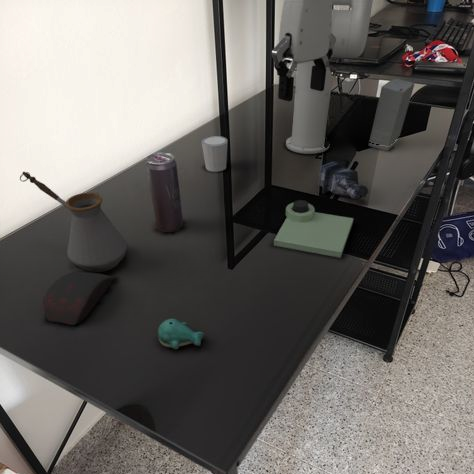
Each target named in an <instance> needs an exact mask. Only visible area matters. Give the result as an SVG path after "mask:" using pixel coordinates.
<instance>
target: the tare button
mask: <svg viewBox="0 0 474 474" xmlns="http://www.w3.org/2000/svg"><path fill="white" fill-rule="evenodd" d="M292 203H293V211H294V212H297V213H305V212H307V211H308V204H309V202H308V201H307V200H304V199H297V200H295V201H294V202H292Z"/></svg>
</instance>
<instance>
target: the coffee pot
mask: <svg viewBox="0 0 474 474" xmlns="http://www.w3.org/2000/svg"><path fill="white" fill-rule="evenodd" d="M23 176H24V177H25V178H26V179H24V180H22V177H23ZM19 180H20V182H23V183H24V182H26V181H28V180H29V182H30V183H31V184H34V185H35V186H36V188H38V189H39V190H40V191H42V192H43V193H44V194H46V195H48V196H49V197H50V198H52V199H53V200H55V201H56V202H58V203H60V204H61V205H62V206H63V207H64V208H66V209H67V210H69V211H70V212H71V214H72V215H71V221H70V222H71V223H70V230H69V237H68V245H67V252H66V254H67V257H68V259H69V261H71V263H72V264H74V266H75V267H78V268H80V269H82V270H85V271H86V272H90V273H102V272H106V271H109V270H112V269H113V268H115V267H117V266H118V265H119V263H120V262H121V261H122V260H123V259H124V257H125V256H126V253H127V251H128V250H127V249H128V243H127V241H126V239H125V238H124V236H123V235H122V234H121V232H120V231H119V230H118V229H117V227H116V226H115V225H114V224H113V222H112V221H111V220H110V219H109V217H108V216H107V214H106V213H105V212H104V211H103V210H102V208H101V207H102V206H101V204H102V203H103V197H102V196H101V195H100V194H99V192H81V193H78V194H74V195H72V196H70V197H68V198H67V200H64V199H62V198H61V197H60V196H59V195H58V194H57V193H55V192H54V191H53V190H52V189H51V188H49V186H47V185H46V184H45V183H43V182H41V181H40V180H37V178H36V176H32V175H31V173H29V172H27V171H22V173H21V175H20V176H19Z"/></svg>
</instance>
